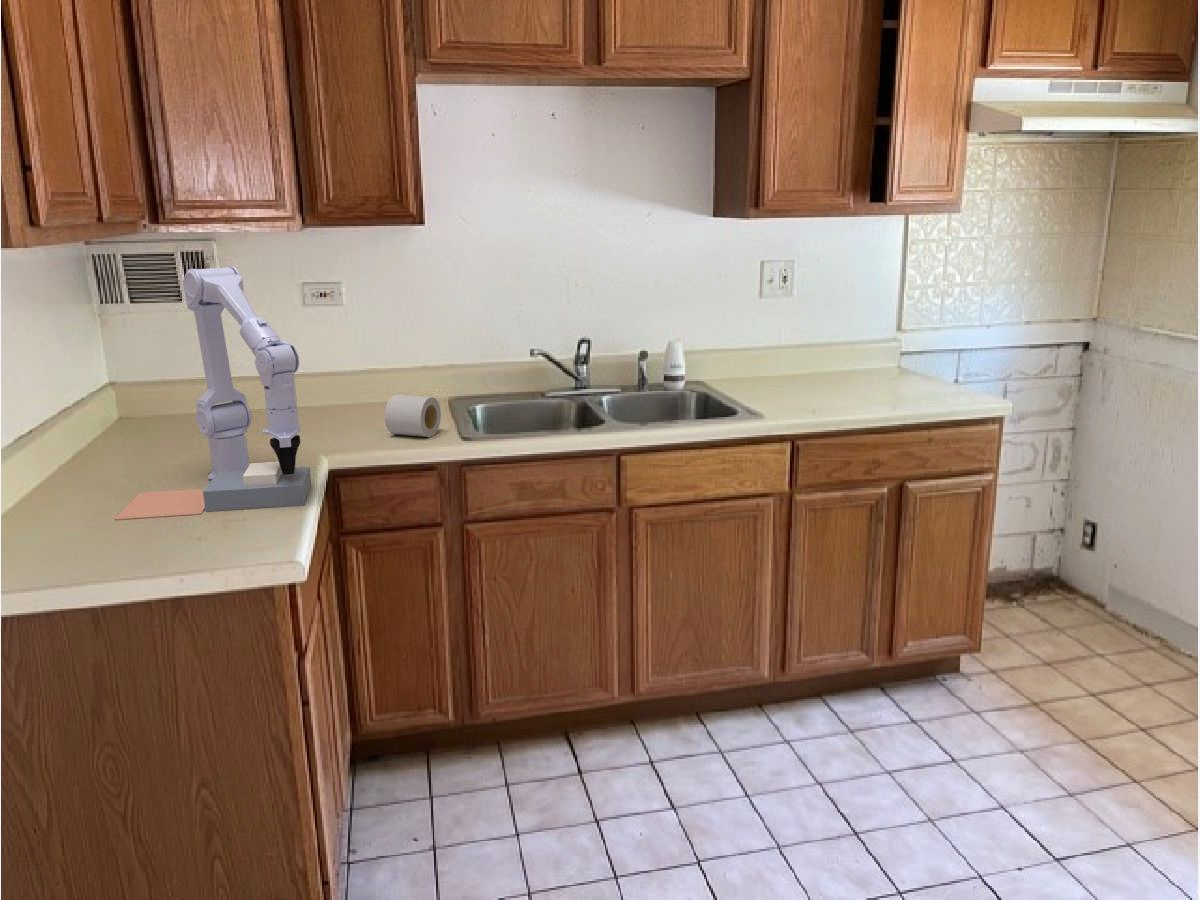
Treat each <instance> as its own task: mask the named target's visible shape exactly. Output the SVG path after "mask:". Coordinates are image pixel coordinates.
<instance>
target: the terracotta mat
mask: <svg viewBox="0 0 1200 900" xmlns="http://www.w3.org/2000/svg"><path fill="white" fill-rule="evenodd" d="M204 490H205V488H194V489H180V490H161V491H147V492H146V491H143V492H139V493H138V494H137V495H135V497H134V498H133V500H131V502H130V503H128V505H126V507H125V508H124V509H122V511H121V512H119V514H118V515H117V516H116V517H115V519H114V521H120V520H121V521H122V520H123V521H124V520H135V519H136V520H137V519H152V518H166V517H169V518H170V517H181V516H182V517H183V516H196V515H202V514H203V512H204V511H205V504H204V496H203V491H204Z"/></svg>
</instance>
